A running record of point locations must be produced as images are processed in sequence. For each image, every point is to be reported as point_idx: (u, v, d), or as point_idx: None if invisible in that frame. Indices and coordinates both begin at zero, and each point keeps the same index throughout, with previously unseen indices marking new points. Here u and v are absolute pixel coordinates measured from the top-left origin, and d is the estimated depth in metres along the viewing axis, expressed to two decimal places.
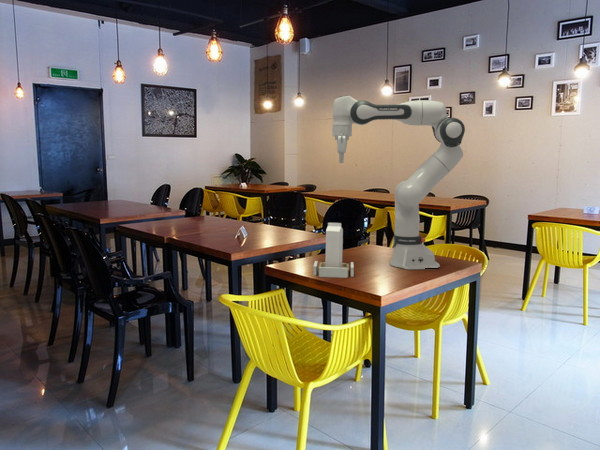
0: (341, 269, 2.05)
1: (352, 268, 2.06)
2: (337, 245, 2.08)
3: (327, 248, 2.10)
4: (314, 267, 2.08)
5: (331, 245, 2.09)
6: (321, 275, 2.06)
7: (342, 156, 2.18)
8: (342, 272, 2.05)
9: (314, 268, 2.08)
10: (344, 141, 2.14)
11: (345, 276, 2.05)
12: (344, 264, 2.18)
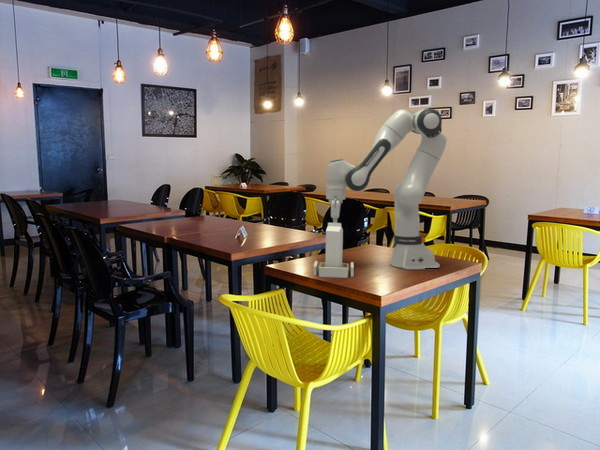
0: (341, 269, 2.05)
1: (352, 268, 2.06)
2: (337, 245, 2.08)
3: (327, 248, 2.10)
4: (314, 267, 2.08)
5: (331, 245, 2.09)
6: (321, 275, 2.06)
7: (336, 219, 2.23)
8: (342, 272, 2.05)
9: (314, 268, 2.08)
10: (337, 206, 2.15)
11: (345, 276, 2.05)
12: (344, 264, 2.18)
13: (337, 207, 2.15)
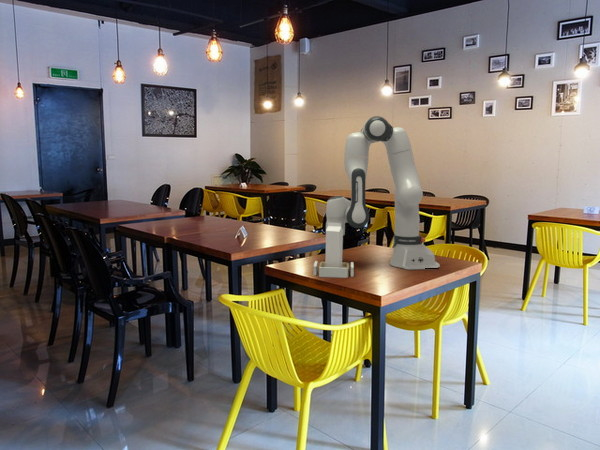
0: (341, 269, 2.05)
1: (352, 268, 2.06)
2: (337, 245, 2.08)
3: (327, 248, 2.10)
4: (314, 267, 2.08)
5: (331, 245, 2.09)
6: (321, 275, 2.06)
7: None
8: (342, 272, 2.05)
9: (314, 268, 2.08)
10: None
11: (345, 276, 2.05)
12: (344, 264, 2.19)
13: None
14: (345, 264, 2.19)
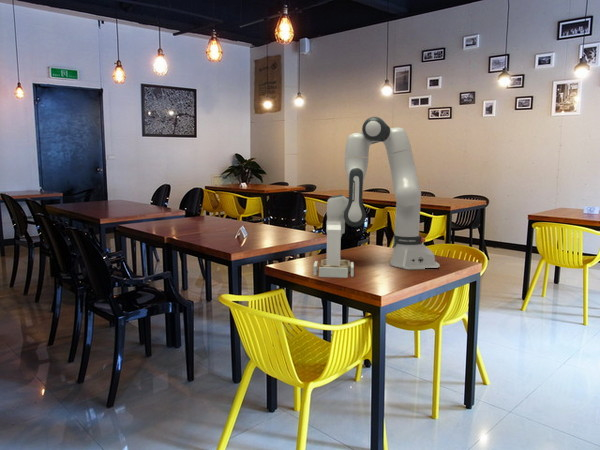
0: (341, 269, 2.05)
1: (352, 268, 2.06)
2: (338, 243, 2.12)
3: (328, 247, 2.13)
4: (314, 267, 2.08)
5: (332, 244, 2.12)
6: (321, 275, 2.06)
7: None
8: (342, 272, 2.05)
9: (314, 268, 2.08)
10: None
11: (345, 276, 2.05)
12: (345, 261, 2.24)
13: None
14: (346, 261, 2.24)
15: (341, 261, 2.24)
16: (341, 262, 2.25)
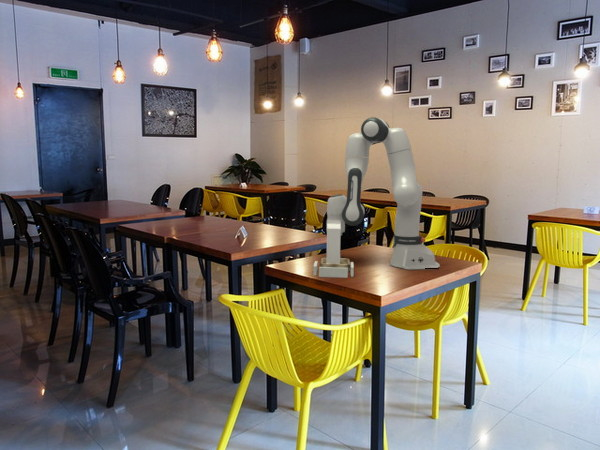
0: (341, 269, 2.05)
1: (352, 268, 2.06)
2: (338, 242, 2.16)
3: (328, 245, 2.16)
4: (314, 267, 2.08)
5: (332, 242, 2.16)
6: (321, 275, 2.06)
7: None
8: (342, 272, 2.05)
9: (314, 268, 2.08)
10: None
11: (345, 276, 2.05)
12: (345, 259, 2.28)
13: None
14: (346, 260, 2.28)
15: (341, 259, 2.28)
16: (341, 260, 2.28)
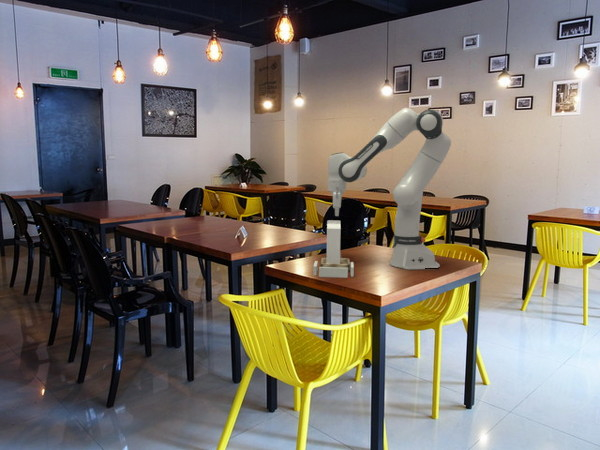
0: (341, 269, 2.05)
1: (352, 268, 2.06)
2: (338, 242, 2.16)
3: (328, 245, 2.16)
4: (314, 267, 2.08)
5: (332, 242, 2.16)
6: (321, 275, 2.06)
7: (337, 210, 2.33)
8: (342, 272, 2.05)
9: (314, 268, 2.08)
10: (339, 197, 2.25)
11: (345, 276, 2.05)
12: (345, 259, 2.28)
13: (339, 198, 2.25)
14: (346, 260, 2.28)
15: (341, 259, 2.28)
16: (341, 260, 2.28)
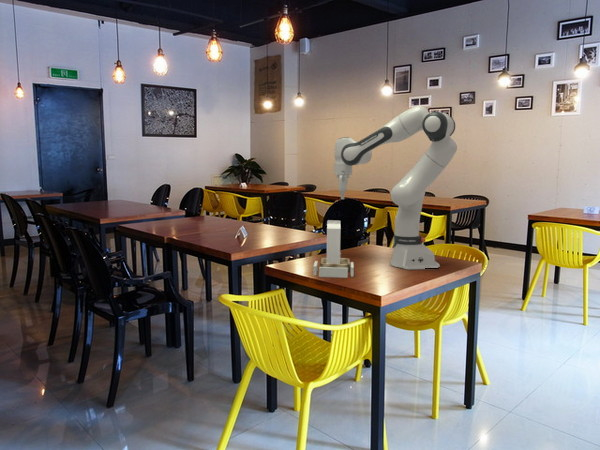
0: (341, 269, 2.05)
1: (352, 268, 2.06)
2: (338, 242, 2.16)
3: (328, 245, 2.16)
4: (314, 267, 2.08)
5: (332, 242, 2.16)
6: (321, 275, 2.06)
7: (343, 193, 2.40)
8: (342, 272, 2.05)
9: (314, 268, 2.08)
10: (345, 180, 2.31)
11: (345, 276, 2.05)
12: (345, 259, 2.28)
13: (344, 181, 2.31)
14: (346, 260, 2.28)
15: (341, 259, 2.28)
16: (341, 260, 2.28)
